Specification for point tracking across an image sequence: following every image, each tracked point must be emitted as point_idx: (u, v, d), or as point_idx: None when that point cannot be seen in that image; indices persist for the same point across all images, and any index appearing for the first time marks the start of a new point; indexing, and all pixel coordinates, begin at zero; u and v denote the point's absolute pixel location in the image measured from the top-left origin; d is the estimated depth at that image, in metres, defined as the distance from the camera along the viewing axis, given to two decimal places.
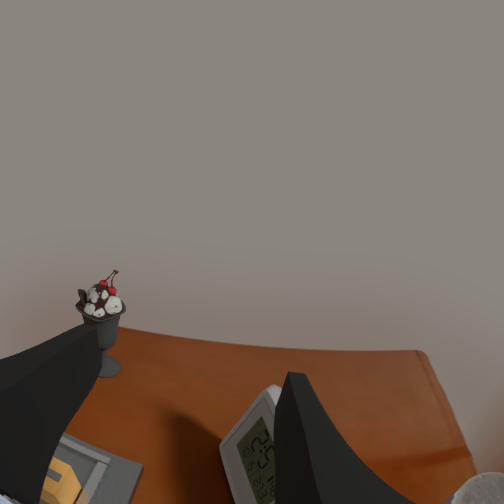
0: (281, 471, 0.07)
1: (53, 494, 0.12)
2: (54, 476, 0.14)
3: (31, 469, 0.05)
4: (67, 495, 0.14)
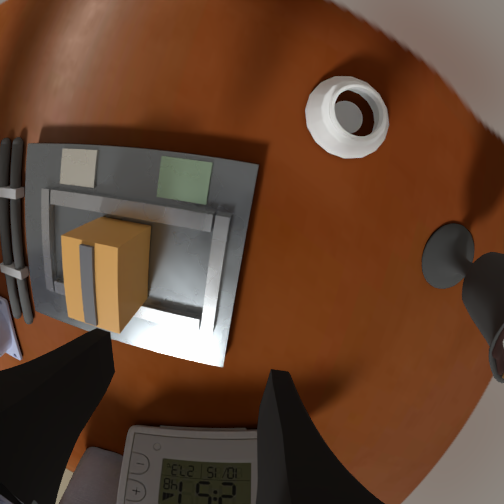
0: (262, 469, 0.07)
1: (68, 316, 0.15)
2: (91, 314, 0.14)
3: (46, 478, 0.05)
4: None
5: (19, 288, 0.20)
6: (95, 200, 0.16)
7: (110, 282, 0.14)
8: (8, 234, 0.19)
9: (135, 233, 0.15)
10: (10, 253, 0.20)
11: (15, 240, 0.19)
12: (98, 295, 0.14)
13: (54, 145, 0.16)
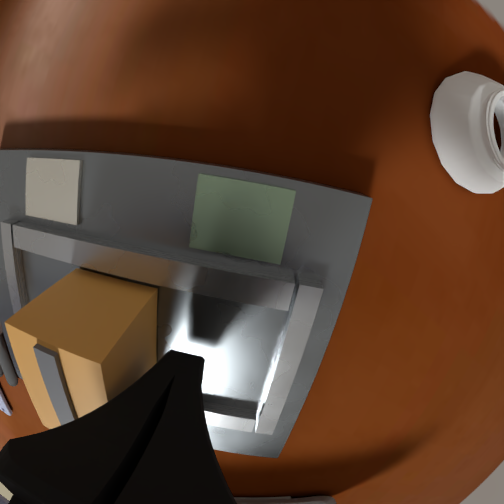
0: None
1: None
2: None
3: None
4: None
5: None
6: (80, 248, 0.09)
7: (97, 407, 0.07)
8: None
9: (132, 314, 0.08)
10: None
11: None
12: None
13: (16, 152, 0.09)
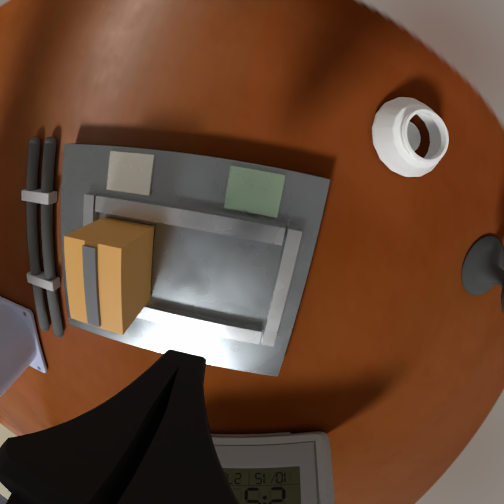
0: None
1: (71, 317, 0.15)
2: (94, 315, 0.14)
3: None
4: None
5: (49, 300, 0.20)
6: (152, 209, 0.16)
7: (113, 283, 0.14)
8: (37, 242, 0.19)
9: (138, 234, 0.15)
10: (39, 262, 0.20)
11: (46, 249, 0.19)
12: (101, 296, 0.14)
13: (99, 147, 0.16)
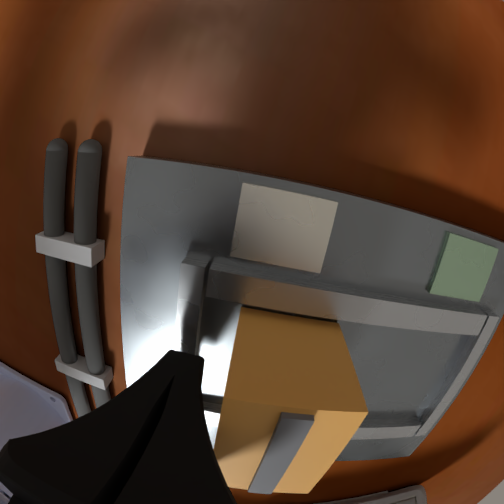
0: None
1: None
2: (262, 482, 0.08)
3: None
4: None
5: (98, 397, 0.13)
6: (329, 299, 0.10)
7: (327, 452, 0.07)
8: (69, 318, 0.12)
9: (346, 355, 0.09)
10: (74, 345, 0.13)
11: (90, 333, 0.12)
12: (292, 467, 0.07)
13: (213, 171, 0.09)
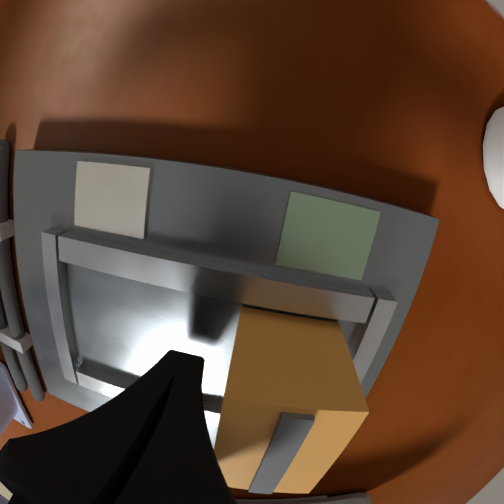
0: None
1: None
2: (262, 482, 0.08)
3: None
4: None
5: (21, 362, 0.13)
6: (150, 264, 0.10)
7: (328, 452, 0.07)
8: None
9: (346, 355, 0.08)
10: (2, 313, 0.13)
11: (7, 300, 0.12)
12: (292, 467, 0.07)
13: (61, 154, 0.09)
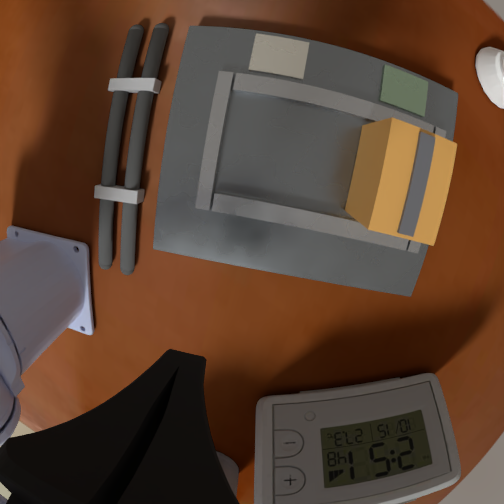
0: None
1: (368, 229, 0.12)
2: (407, 222, 0.12)
3: None
4: None
5: (126, 218, 0.18)
6: (310, 90, 0.14)
7: (443, 180, 0.11)
8: (119, 143, 0.17)
9: None
10: (116, 170, 0.17)
11: (136, 147, 0.16)
12: (425, 196, 0.11)
13: (239, 30, 0.13)
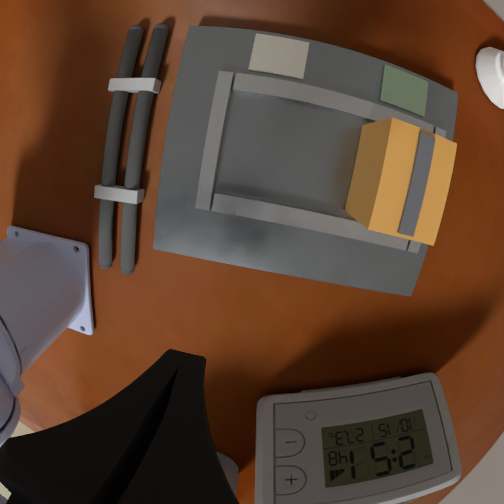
0: None
1: (368, 229, 0.12)
2: (407, 222, 0.12)
3: None
4: None
5: (126, 218, 0.18)
6: (310, 90, 0.14)
7: (443, 180, 0.11)
8: (119, 143, 0.17)
9: None
10: (116, 170, 0.17)
11: (136, 147, 0.16)
12: (425, 196, 0.11)
13: (239, 30, 0.13)
